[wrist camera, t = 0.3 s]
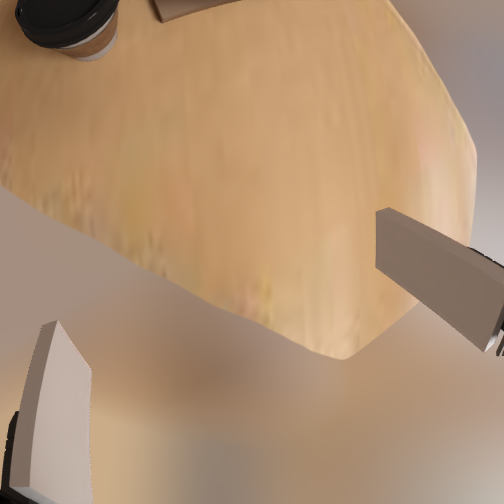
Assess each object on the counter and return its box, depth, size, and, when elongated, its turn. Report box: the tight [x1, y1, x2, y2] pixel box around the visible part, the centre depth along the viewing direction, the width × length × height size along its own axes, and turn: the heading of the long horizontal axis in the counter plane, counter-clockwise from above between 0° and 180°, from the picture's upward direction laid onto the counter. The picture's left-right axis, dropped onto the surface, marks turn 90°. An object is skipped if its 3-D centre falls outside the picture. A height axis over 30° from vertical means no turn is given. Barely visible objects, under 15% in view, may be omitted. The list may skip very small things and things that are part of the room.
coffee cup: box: [15, 0, 119, 61], centre depth 18 cm, size 8×8×15 cm
